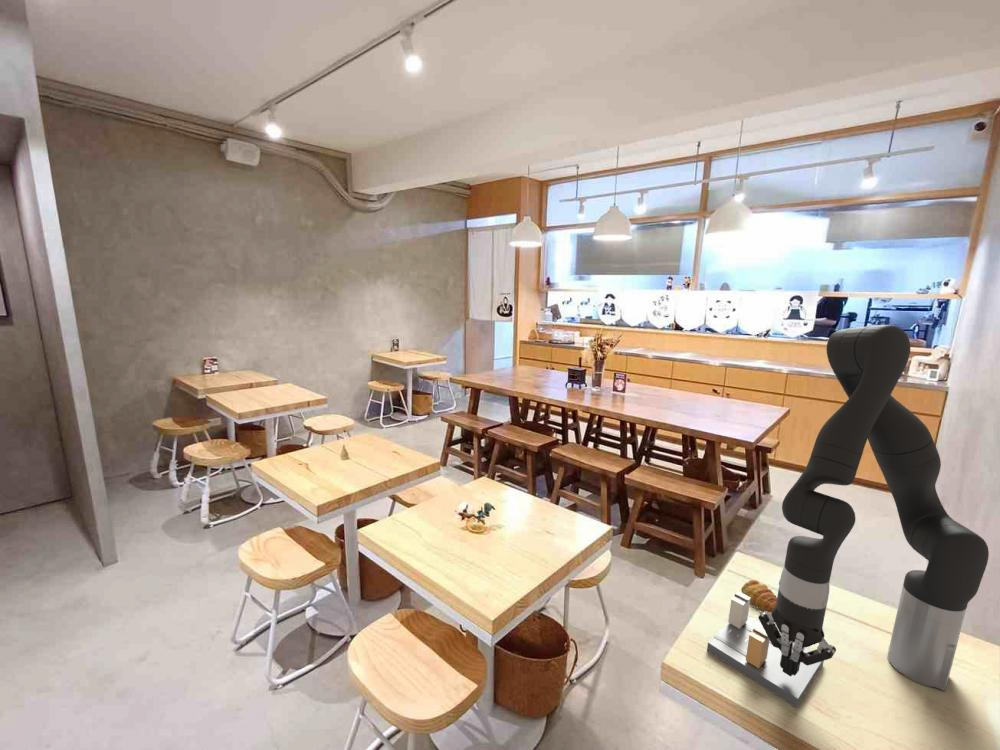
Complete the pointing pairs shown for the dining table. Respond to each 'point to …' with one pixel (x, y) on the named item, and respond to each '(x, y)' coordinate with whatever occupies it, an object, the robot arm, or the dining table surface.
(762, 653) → the orange fader
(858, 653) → the dining table surface
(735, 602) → the cream fader
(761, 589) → the pastry
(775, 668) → the console
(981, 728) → the dining table surface
